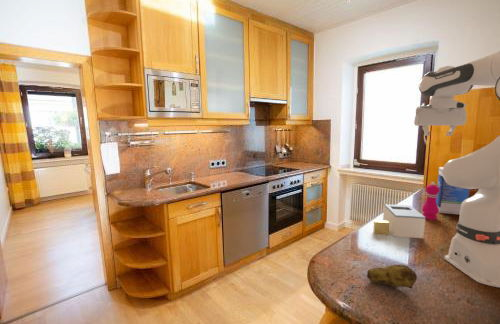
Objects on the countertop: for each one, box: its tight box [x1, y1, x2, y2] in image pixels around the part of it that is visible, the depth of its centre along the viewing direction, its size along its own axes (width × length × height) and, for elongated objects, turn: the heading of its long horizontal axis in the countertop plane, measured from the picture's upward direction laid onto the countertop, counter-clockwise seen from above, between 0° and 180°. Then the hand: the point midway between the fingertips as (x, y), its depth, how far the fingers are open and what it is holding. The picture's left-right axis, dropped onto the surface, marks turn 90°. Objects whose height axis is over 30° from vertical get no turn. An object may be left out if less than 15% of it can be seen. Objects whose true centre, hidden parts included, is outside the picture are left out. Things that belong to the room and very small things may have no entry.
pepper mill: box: [421, 181, 439, 221], centre depth 134 cm, size 7×7×20 cm
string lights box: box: [436, 166, 470, 216], centre depth 142 cm, size 13×8×26 cm, turn 68°
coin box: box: [382, 203, 426, 239], centre depth 119 cm, size 16×12×10 cm
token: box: [372, 219, 390, 236], centre depth 116 cm, size 2×6×6 cm, turn 78°
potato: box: [366, 264, 418, 289], centre depth 78 cm, size 8×13×8 cm, turn 40°
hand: (437, 135), depth 114 cm, fingers open, 8 cm apart
